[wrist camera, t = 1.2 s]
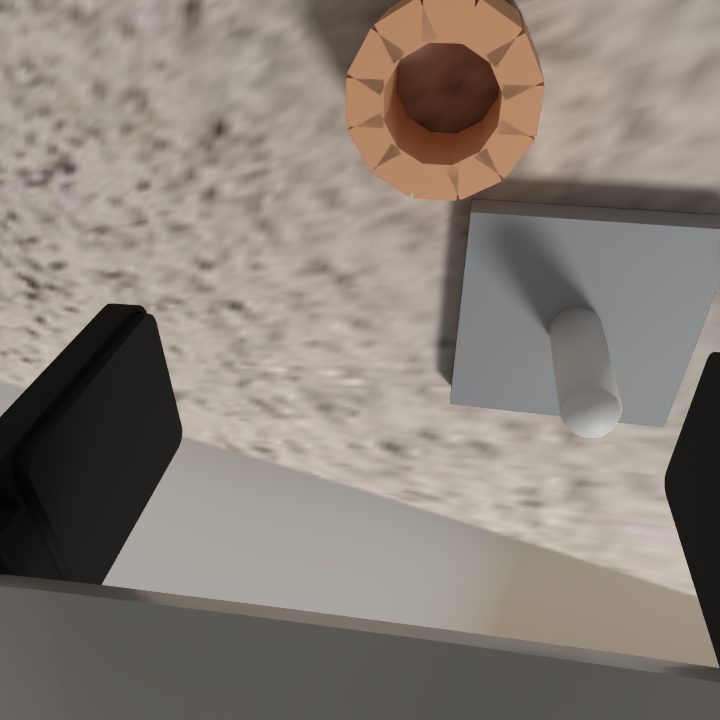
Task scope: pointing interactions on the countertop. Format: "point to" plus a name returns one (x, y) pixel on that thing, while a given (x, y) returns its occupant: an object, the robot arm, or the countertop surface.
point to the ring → (437, 149)
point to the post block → (582, 310)
